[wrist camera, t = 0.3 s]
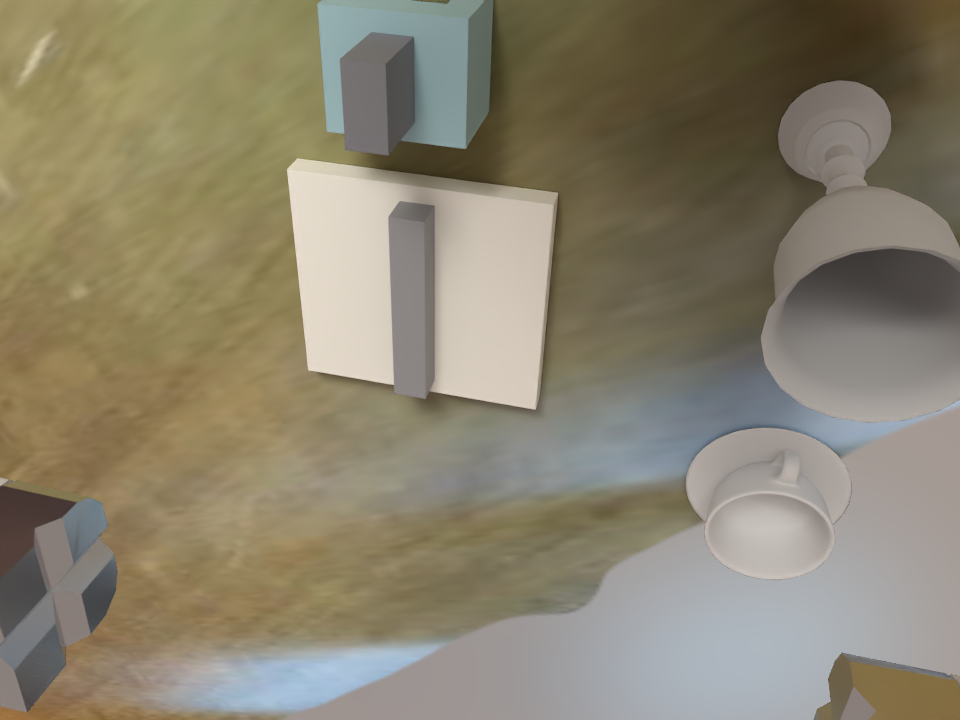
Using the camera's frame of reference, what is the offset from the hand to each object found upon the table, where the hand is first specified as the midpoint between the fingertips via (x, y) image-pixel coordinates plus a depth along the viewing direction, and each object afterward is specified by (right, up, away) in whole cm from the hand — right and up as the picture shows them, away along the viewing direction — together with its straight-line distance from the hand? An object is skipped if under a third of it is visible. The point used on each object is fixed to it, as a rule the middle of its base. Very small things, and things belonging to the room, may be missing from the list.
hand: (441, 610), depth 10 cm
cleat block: (-2, +19, +35) cm, 40 cm away
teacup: (+19, -5, +47) cm, 51 cm away
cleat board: (-3, +7, +43) cm, 44 cm away
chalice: (+17, +14, +33) cm, 40 cm away
